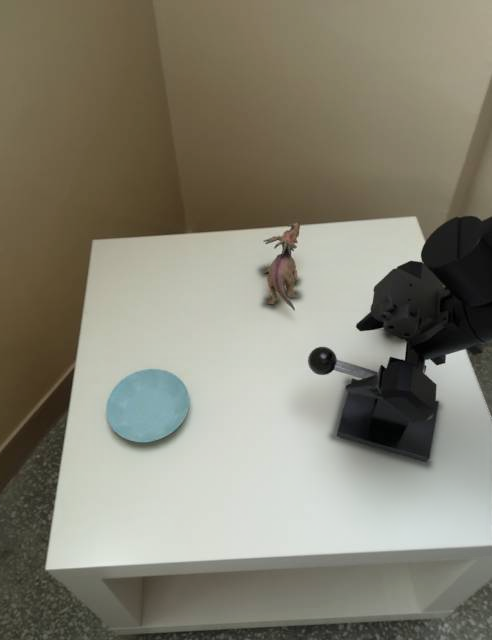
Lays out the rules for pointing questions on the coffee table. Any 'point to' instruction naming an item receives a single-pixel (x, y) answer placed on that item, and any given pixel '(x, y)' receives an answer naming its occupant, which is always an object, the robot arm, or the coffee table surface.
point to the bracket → (385, 426)
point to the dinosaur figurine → (283, 266)
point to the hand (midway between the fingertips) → (352, 357)
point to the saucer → (147, 405)
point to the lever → (334, 364)
